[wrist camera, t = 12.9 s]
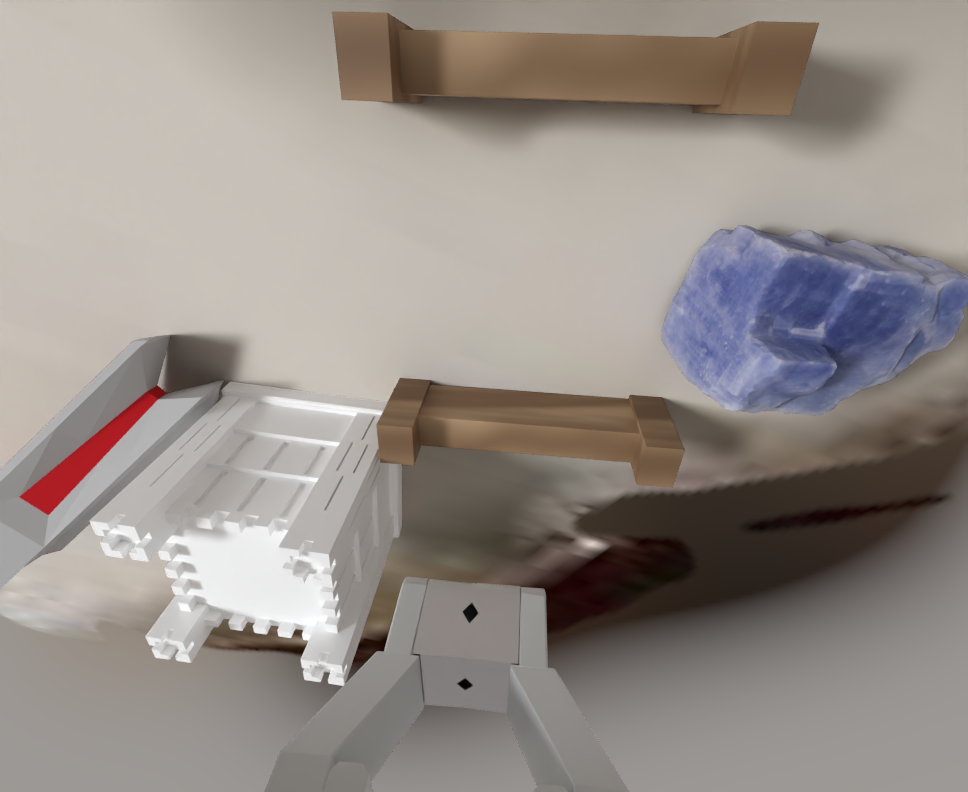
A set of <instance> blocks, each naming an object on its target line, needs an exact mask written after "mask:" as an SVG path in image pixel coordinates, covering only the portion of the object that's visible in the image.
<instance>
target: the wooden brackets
mask: <svg viewBox="0 0 968 792" xmlns="http://www.w3.org/2000/svg"><path fill="white" fill-rule="evenodd" d="M332 14H333V23H334V33H335V42H336V51H337V61H338V70H339V79H340V89H341V98H342V100H358V101H382V102H410V103H421V96H445V97H474V98H503V99H532V100H561V101H590V102H619V103H648V104H677V105H694V108H693V113H721V114H751V115H784V116H790V114H791V111H792V108H793V105H794V101H795V98H796V95H797V92H798V89H799V86H800V82H801V79H802V76H803V73H804V70H805V67H806V63H807V60H808V57H809V54H810V51H811V47H812V44H813V41H814V38H815V35H816V32H817V28H818V25H819V23H803V22H759V21H757V22H755V23H752V24H750V25H747V26H744V27H742V28H739V29H737V30H734V31H732V32H729V33H727V34H724V35H722V36H719V37H716V38H712V37H673V36H633V35H594V34H554V33H515V32H476V31H436V30H413V29H412V28H410V27H409V26H407V25H406V24H404V23H402V22H401V21H399V20H398V19H396V18H395V17H393V16H391V15H390V14H388V13H370V12H332ZM376 427H377V436H378V446H379V455H380V463H391V464H402V465H415V462H416V459H417V456H418V453H419V450H420V447H421V445H426V446H438V447H450V448H462V449H474V450H486V451H498V452H510V453H522V454H534V455H547V456H559V457H571V458H583V459H595V460H607V461H619V462H631V466H632V469H633V473H634V477H635V481H636V485H647V486H659V487H670V488H673V486H674V483H675V479H676V476H677V473H678V470H679V467H680V464H681V460H682V457H683V454H684V451H685V449H684V447H683V444H682V442H681V440H680V438H679V435H678V433H677V431H676V428H675V426H674V424H673V421H672V419H671V417H670V414H669V412H668V410H667V408H666V405H665V403H664V401H663V398H661V397H648V396H634V395H630V396H629V399H620V398H607V397H594V396H580V395H567V394H553V393H540V392H526V391H513V390H499V389H486V388H472V387H459V386H446V385H432V384H431V382H430V380H417V379H404V378H400V379H399V381H398V383H397V385H396V387H395V389H394V391H393V393H392V395H391V397H390V399H389V401H388V403H387V405H386V407H385V409H384V411H383V413H382V415H381V417H380V419H379V421H378V423H377V425H376Z"/></svg>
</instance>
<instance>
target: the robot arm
mask: <svg viewBox="0 0 968 792" xmlns="http://www.w3.org/2000/svg"><path fill="white" fill-rule="evenodd" d="M424 704H426V705H438V706H452V707H465V708H473V709H480V710H487V711H495V712H503V713H506V716H507V718H508V721H509V723H510V725H511V727H512V730H513V732H514V734H515V737H516V739H517V741H518V744H519V746H520V748H521V750H522V753H523V755H524V758H525V760H526V762H527V764H528V767H529V769H530V771H531V773H532V776H533V778H534V781H535V783H536V785H537V787H536V788H535V790H534V791H533V792H629V790H628V789H627V787H626V785H625V784H624V782H623V780H622V779H621V777H620V775H619V774H618V772H617V770H616V769H615V767H614V765H613V764H612V762H611V760H610V759H609V757H608V756H607V754H606V752H605V751H604V749H603V747H602V746H601V744H600V742H599V741H598V739H597V737H596V736H595V734H594V732H593V731H592V729H591V727H590V726H589V724H588V723H587V721H586V719H585V718H584V716H583V714H582V713H581V711H580V709H579V708H578V706H577V704H576V703H575V701H574V699H573V698H572V696H571V695H570V693H569V692H568V690H567V688H566V686H565V685H564V683H563V681H562V680H561V678H560V676H559V675H558V673H557V671H556V670H555V669H551V668H548V662H547V625H546V594H545V591H544V589H540V588H524V587H521V588H520V586H509V585H495V584H481V583H475V584H472V583H462V582H453V581H443V580H433V579H426V578H414V577H406V578H405V580H404V582H403V584H402V587H401V590H400V594H399V598H398V602H397V605H396V609H395V613H394V616H393V620H392V624H391V627H390V631H389V635H388V639H387V642H386V646H385V650H384V652H379V651H377V652H376V653H375V654H374V655H373V656H372V657H371V658H370V659H369V660H368V661H367V662H366V663H365V664H364V665H363V666H362V667H361V668H360V669H359V670H358V672H357V673H356V674H355V675H354V676H353V677H352V678H351V679H350V680H349V681H348V682H347V683H346V684H345V685H344V686H343V687H342V688H341V689H340V690H339V691H338V692H337V693H336V694H335V695H334V696H333V697H332V698H331V699H330V700H329V701H328V702H327V704H326V705H325V706H324V707H323V708H322V709H321V710H320V711H319V712H318V713H317V714H316V715H315V716H314V717H313V718H312V719H311V720H310V721H309V722H308V723H307V724H306V725H305V726H304V727H303V728H302V729H301V731H299V733H298V734H297V735H296V736H295V737H294V738H293V739H292V740H291V741H290V742H289V743H288V744H287V745H286V746H285V747H284V748H283V749H282V750H281V751H280V753H279V756H278V758H277V761H276V763H275V766H274V769H273V771H272V774H271V776H270V779H269V781H268V784H267V787H266V789H265V792H373V789H372V785H371V781H372V780H373V778H374V777H375V775H376V774H377V773H378V771H379V770H380V769H381V767H382V765H383V764H384V763H385V762H386V760H387V759H388V757H389V756H390V754H391V753H392V752H393V750H394V749H395V748H396V746H397V745H398V743H399V742H400V740H401V739H402V738H403V736H404V735H405V734H406V732H407V731H408V729H409V728H410V726H411V725H412V724H413V722H414V721H415V720H416V718H417V717H418V715H419V714H420V712H421V711H422V710H423V708H424Z"/></svg>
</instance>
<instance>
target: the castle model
mask: <svg viewBox="0 0 968 792" xmlns="http://www.w3.org/2000/svg"><path fill="white" fill-rule="evenodd" d="M221 391H222V395H223V398H222V399H221V400H220V401H219V402H218V403H216V404H215V405H214V406H213V407H212V408H211V409H210V410H209V411H208V412H207V413H206V414H204V415H203V416H202V417H201V418H200V419H199V420H198V421H197V422H196V423H195V424H194V425H193V426H191V427H190V428H189V429H188V430H187V431H186V432H185V433H184V434H183V435H182V436H181V437H180V438H178V439H177V440H176V441H175V442H174V443H173V444H172V445H171V446H170V447H169V448H168V449H167V450H165V451H164V452H163V453H162V454H161V455H160V456H159V457H158V458H157V459H156V460H155V461H153V462H152V463H151V464H150V465H149V466H148V467H147V468H146V469H145V470H144V471H143V472H142V473H140V474H139V475H138V476H137V477H136V478H135V479H134V480H133V481H132V482H131V483H130V484H129V485H127V486H126V487H125V488H124V489H123V490H122V491H121V492H120V493H119V494H118V495H117V496H116V497H114V498H113V499H112V500H111V501H110V502H109V503H108V504H107V505H106V506H105V507H104V508H102V509H101V510H100V511H99V512H98V513H97V514H96V515H95V516H94V517H93V518H92V519H91V520H89V521H90V523H91V525H92V527H93V530H94V532H95V534H96V535H99V536H105V537H104V538H103V539H102V540H101V541H100V544H101V546H102V548H103V550H104V552H105V554H106V556H112V557H119V558H124V557H125V556H126V555H127V553H128V552H129V551H130V550H131V549H132V550H131V551H130V552H129V554H130V556H131V559H133V560H140V561H147V562H149V561H150V560H151V559H152V558H153V557H154V555H155V554H156V553H157V552H158V554H159V557H160V559H161V560H168V561H170V562H169V563H168V565H167V566H166V567H165V568H164V569H165V572H166V574H167V577H169V578H175V579H176V580H175V582H174V583H173V584H172V585H171V587H172V589H173V592H174V594H176V596H175V597H174V598H173V600H172V601H171V602H170V604H169V605H168V606H167V608H166V609H165V610H164V612H163V613H162V614H161V616H160V617H159V618H158V620H157V621H156V623H155V624H154V625H153V627H152V628H151V629H150V631H149V632H148V633H147V635H146V636H145V637H146V639H147V641H148V643H149V645H153V648H152V652H153V653H154V656H155V657H156V658H162V659H170V658H171V657H172V655H173V654H174V652H175V651H176V650H179V652H178V653H177V655H176V656H175V658H176V660H177V661H183V662H190V663H191V662H192V661H193V659H194V658H195V656H196V654H197V653H198V651H199V650H200V648H201V646H202V645H203V643H204V642H205V640H206V638H207V637H208V635H209V634H210V632H211V630H212V629H213V627H219V625H220V623H221V622H222V620H223V618H225V619H230V621H229V623H228V624H229V627H230V629H233V630H240V631H242V630H243V629H244V627H245V625H246V623H247V622H252V623H254V625H253V629H254V633H260V634H267V633H268V631H269V629H270V627H271V625H273V626H279V628H278V630H277V631H278V635H279V636H281V637H288V638H291V637H292V635H293V632H294V630H295V629H300V630H303V633H302V636H303V640H308V643H307V646H306V648H305V650H304V653H303V655H302V657H301V664H302V668H304V671H303V674H304V679H305V680H310V681H316V682H321V679H322V676H323V674H324V672H329V673H330V675H329V678H328V683H329V684H336V685H343V686H344V685H345V682H346V679H347V676H348V673H349V670H350V667H351V664H352V661H353V658H354V655H355V652H356V649H357V646H358V643H359V640H360V637H361V634H362V631H363V628H364V625H365V622H366V619H367V616H368V613H369V610H370V607H371V604H372V601H373V598H374V595H375V592H376V589H377V586H378V583H379V580H380V577H381V574H382V571H383V568H384V565H385V562H386V559H387V556H388V553H389V550H390V547H391V544H392V541H393V538H399V535H400V531H401V528H402V464H391V463H380V455H379V446H378V436H377V427H376V425H377V423H378V421H379V419H380V417H381V415H382V413H383V411H384V409H385V407H386V405H387V403H388V402H385V401H378V400H370V399H362V398H354V397H347V396H339V395H331V394H323V393H316V392H308V391H300V390H292V389H285V388H277V387H269V386H261V385H254V384H246V383H238V382H229V383H228V384H227V385H226V386H225V387H224V388H223V389H222V390H221Z"/></svg>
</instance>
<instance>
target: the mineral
mask: <svg viewBox="0 0 968 792" xmlns="http://www.w3.org/2000/svg"><path fill="white" fill-rule="evenodd" d="M967 305H968V276H967V275H965V274H962V273H960V272H958V271H956V270H954V269H953V268H951V267H949V266H947V265H945V264H943V263H942V262H940V261H937V260H933V259H930V258H928V257H913V256H912V255H910V254H909V253H908V252H907V251H904V250H901V249H897V248H893V247H889V246H870V245H867V244H865V243H863V242H860V241H856V240H850V241H846V242H843V243H835V242H830V241H829V240H828V239H826V238H825V237H824V236H822V235H820V234H817V233H815V232H813V231H799V232H797V233H795V234H793V235H791V236H779V235H771V234H768V233H765V232H762V231H759V230H757V229H755V228H753V227H750V226H747V225H739V226H738V227H737V228H736V229H735V230H734V231H731V230H724V229H721V230H718V231H716V232H715V233H714V234H713V235H712V236H711V238H710V239H709V240H708V241H707V243H706V244H705V245H704V246H703V247H702V248H701V249H700V250H699V252H698V253H697V254H696V255H695V257H694V259H693V262H692V264H691V266H690V269H689V270H688V272H687V274H686V276H685V278H684V280H683V283H682V285H681V287H680V289H679V291H678V293H677V294H676V296H675V297H674V299H673V301H672V304H671V307H670V309H669V311H668V314H667V316H666V318H665V322H664V325H663V327H662V335H661V340H662V342H663V344H664V345H665V347H666V348H667V350H668V352H669V353H670V356H671V358H672V359H673V361H674V362H675V363H676V364H677V366H678V368H679V369H680V371H681V372H682V374H683V375H684V376H685V378H686V379H687V380H688V381H690V382H691V383H692V384H694V385H695V386H696V387H697V388H699V389H700V391H701V392H702V393H703V394H705V395H707V396H709V397H711V398H712V399H714V400H715V401H716V402H717V403H718V404H720V405H721V406H722V407H723V408H725V409H727V410H730V411H734V412H738V411H742V412H749V413H758V412H760V411H778V412H781V413H794V414H803V415H813V416H816V415H822V414H824V413H826V412H828V411H830V410H833V409H834V408H835V407H836V405H837V404H838V403H839V402H840V401H841V400H843V399H845V398H848V397H851V396H853V395H854V394H855V393H857V392H858V391H859V390H862V389H865V388H868V387H871V386H874V385H880V384H883V383H885V382H887V381H889V380H891V379H893V378H894V377H896V376H898V374H899V373H900V372H901V371H903V370H905V369H906V368H908V367H909V366H910V365H911V364H912V363H913V362H914V361H915V360H916V359H917V358H919V357H921V356H922V355H924V354H926V353H929V352H933V351H937V350H941V349H944V348H946V347H947V345H948V344H949V343H950V342H951V341H952V340H953V339H954V337H955V335H956V333H957V331H958V329H959V326H960V324H961V322H962V320H963V318H964V314H963V310H964V309H965V308H966V306H967Z"/></svg>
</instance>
